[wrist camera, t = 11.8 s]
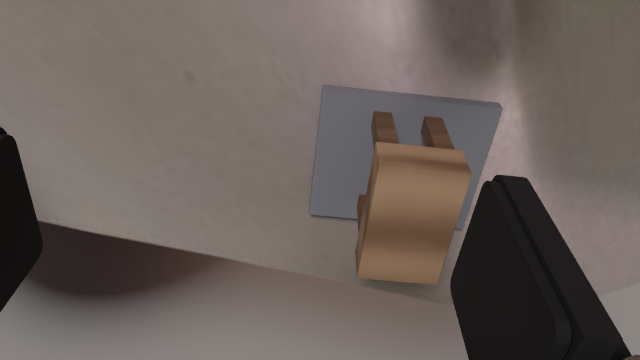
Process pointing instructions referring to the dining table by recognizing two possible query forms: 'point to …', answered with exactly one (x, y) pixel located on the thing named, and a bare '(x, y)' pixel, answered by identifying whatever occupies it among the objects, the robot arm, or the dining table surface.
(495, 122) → the mat
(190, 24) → the dining table surface
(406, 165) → the footstool
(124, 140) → the dining table surface
